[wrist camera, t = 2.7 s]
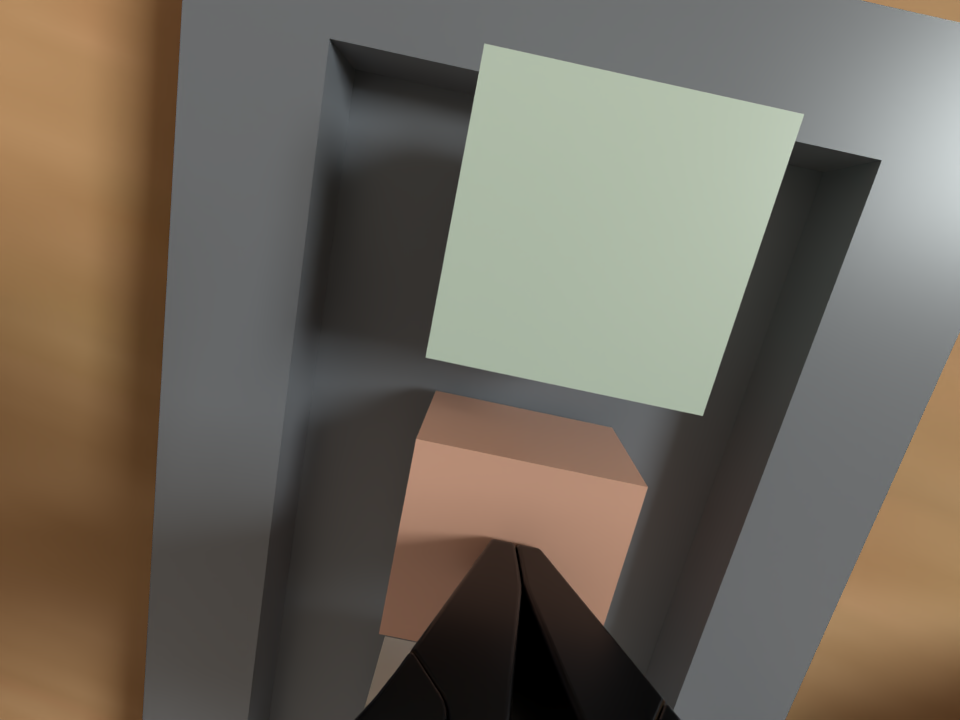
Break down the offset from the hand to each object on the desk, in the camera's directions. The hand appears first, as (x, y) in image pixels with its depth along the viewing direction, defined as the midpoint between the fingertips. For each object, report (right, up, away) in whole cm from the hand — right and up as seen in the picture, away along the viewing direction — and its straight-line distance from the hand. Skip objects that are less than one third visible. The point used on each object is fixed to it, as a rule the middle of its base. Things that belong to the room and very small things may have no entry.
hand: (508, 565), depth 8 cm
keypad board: (0, -2, +5) cm, 5 cm away
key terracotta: (0, +1, +3) cm, 3 cm away
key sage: (+1, +6, 0) cm, 6 cm away
